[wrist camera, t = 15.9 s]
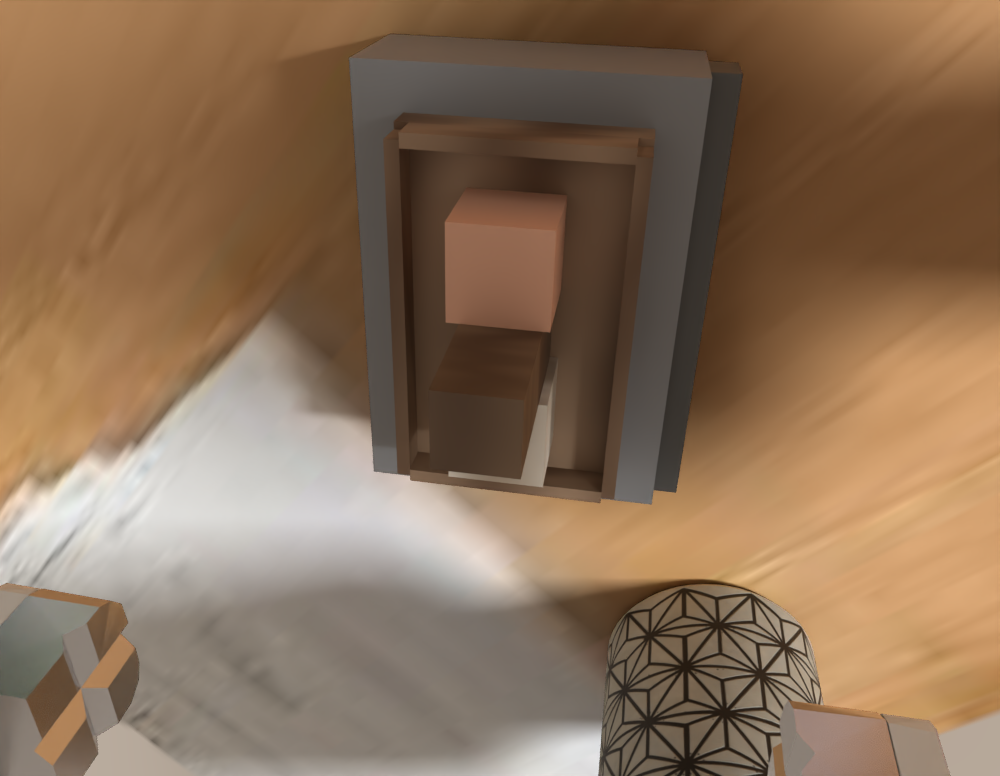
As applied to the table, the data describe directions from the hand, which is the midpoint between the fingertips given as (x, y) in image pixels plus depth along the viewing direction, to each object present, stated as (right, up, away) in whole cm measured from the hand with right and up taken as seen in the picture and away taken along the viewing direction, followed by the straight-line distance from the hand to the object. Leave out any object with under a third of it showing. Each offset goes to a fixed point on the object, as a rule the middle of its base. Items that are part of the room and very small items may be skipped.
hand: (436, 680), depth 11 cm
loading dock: (+2, +10, +33) cm, 35 cm away
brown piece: (+2, +7, +28) cm, 29 cm away
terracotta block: (+1, +10, +25) cm, 27 cm away
